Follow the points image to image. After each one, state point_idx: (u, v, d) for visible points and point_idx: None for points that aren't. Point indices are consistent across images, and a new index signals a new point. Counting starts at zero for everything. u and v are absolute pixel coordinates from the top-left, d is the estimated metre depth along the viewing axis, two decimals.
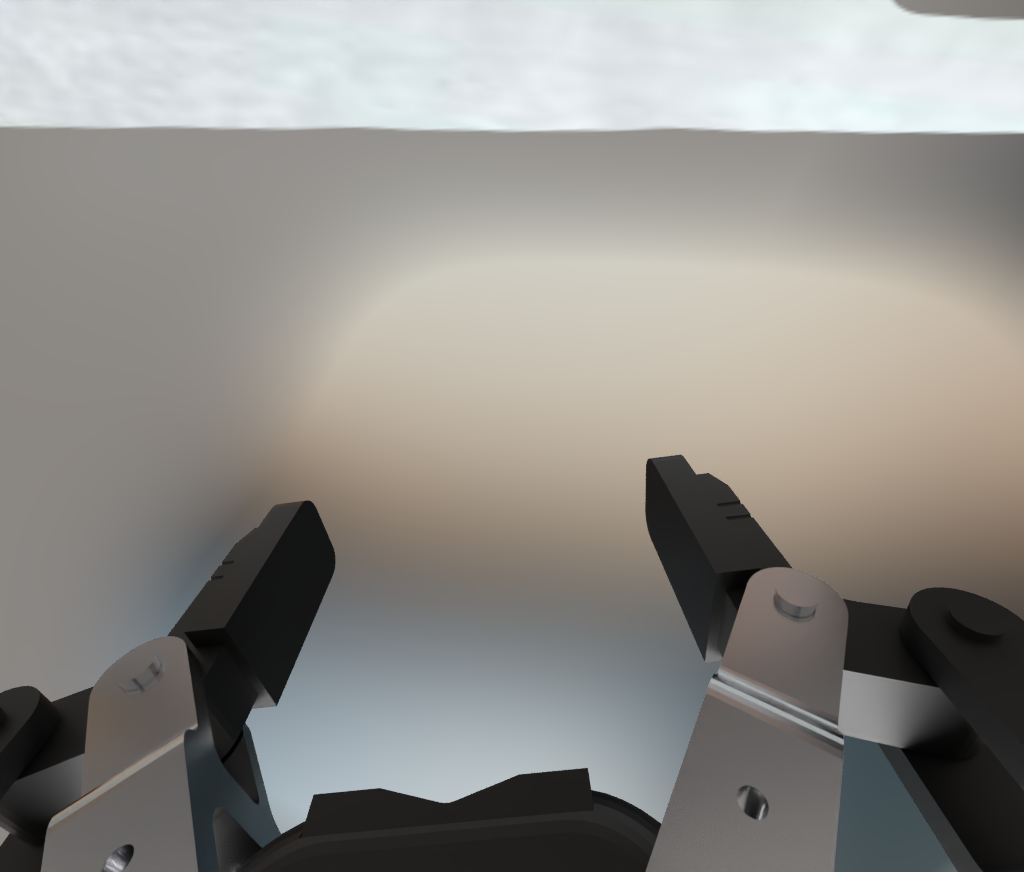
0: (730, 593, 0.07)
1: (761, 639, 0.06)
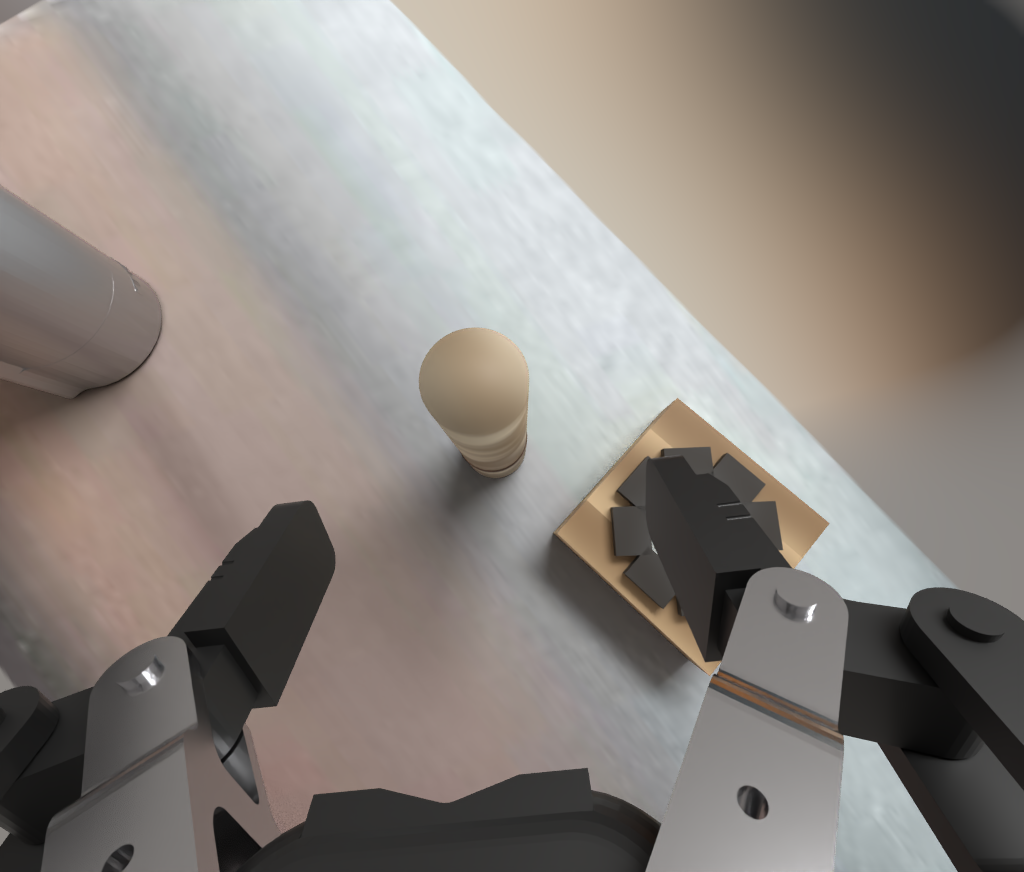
0: (730, 593, 0.07)
1: (761, 639, 0.06)
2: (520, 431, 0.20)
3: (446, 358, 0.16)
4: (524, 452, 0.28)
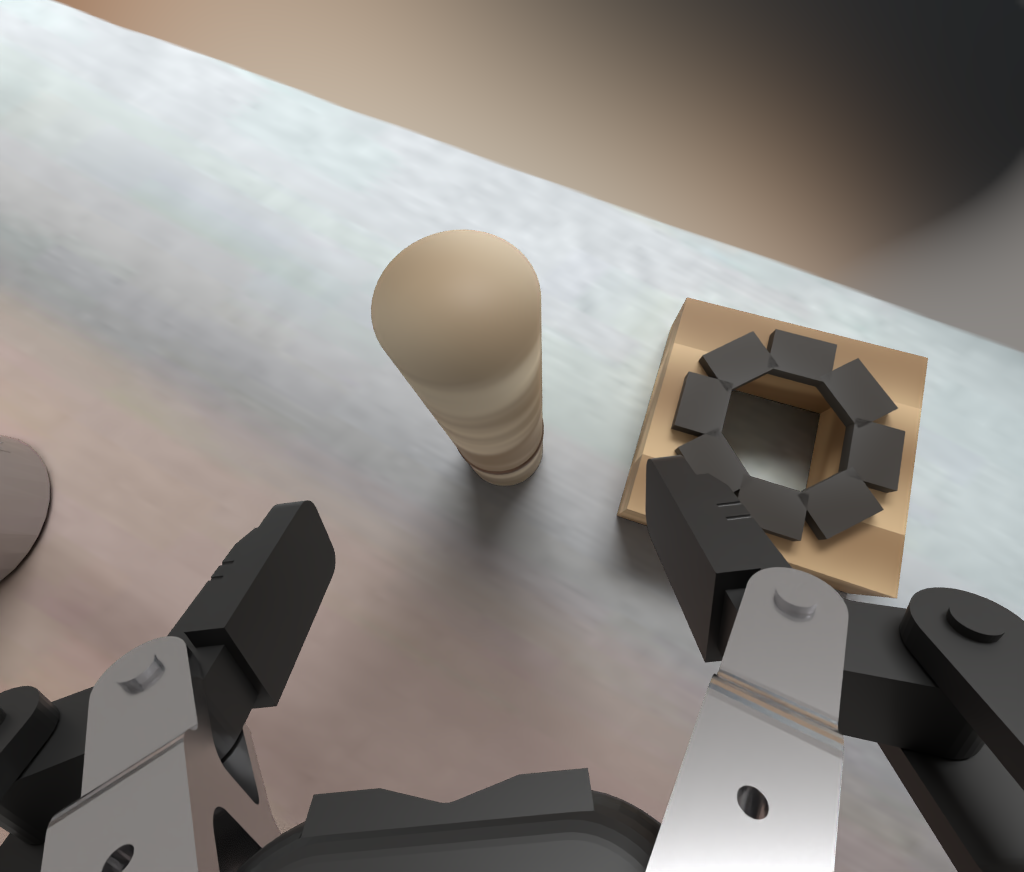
0: (730, 593, 0.07)
1: (761, 639, 0.06)
2: (541, 378, 0.14)
3: (403, 291, 0.11)
4: None
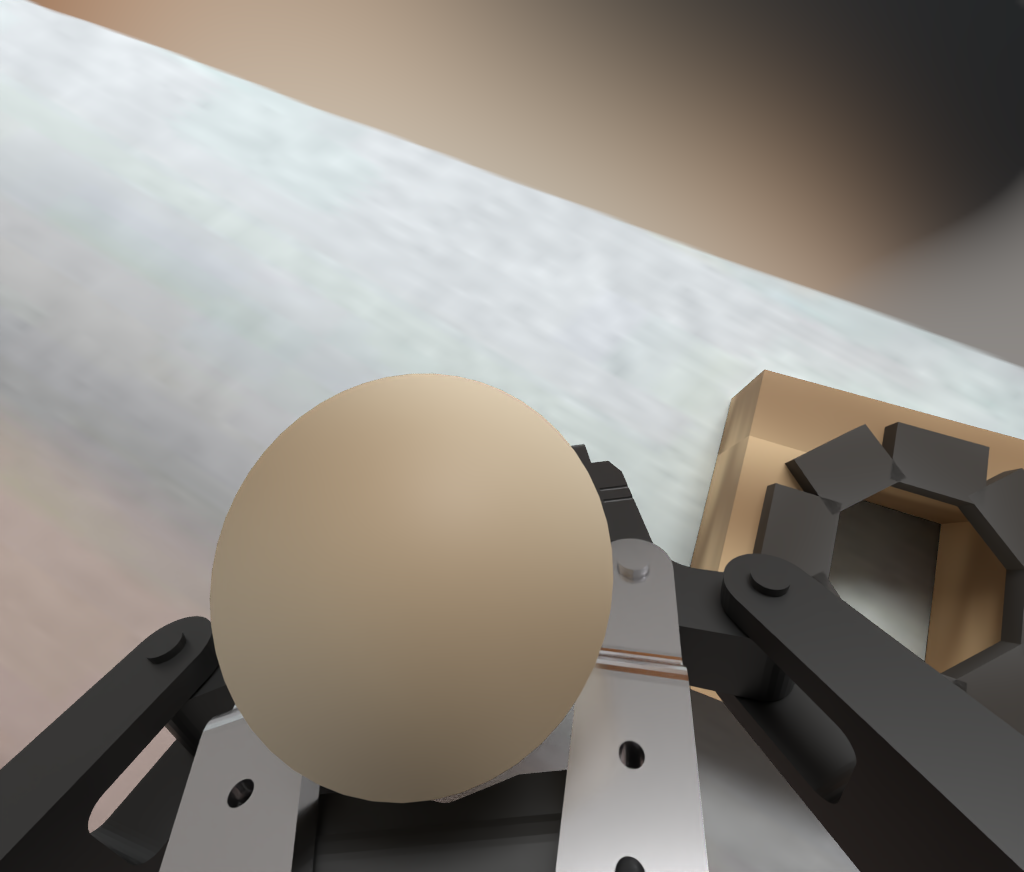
0: None
1: None
2: None
3: (288, 527, 0.05)
4: None
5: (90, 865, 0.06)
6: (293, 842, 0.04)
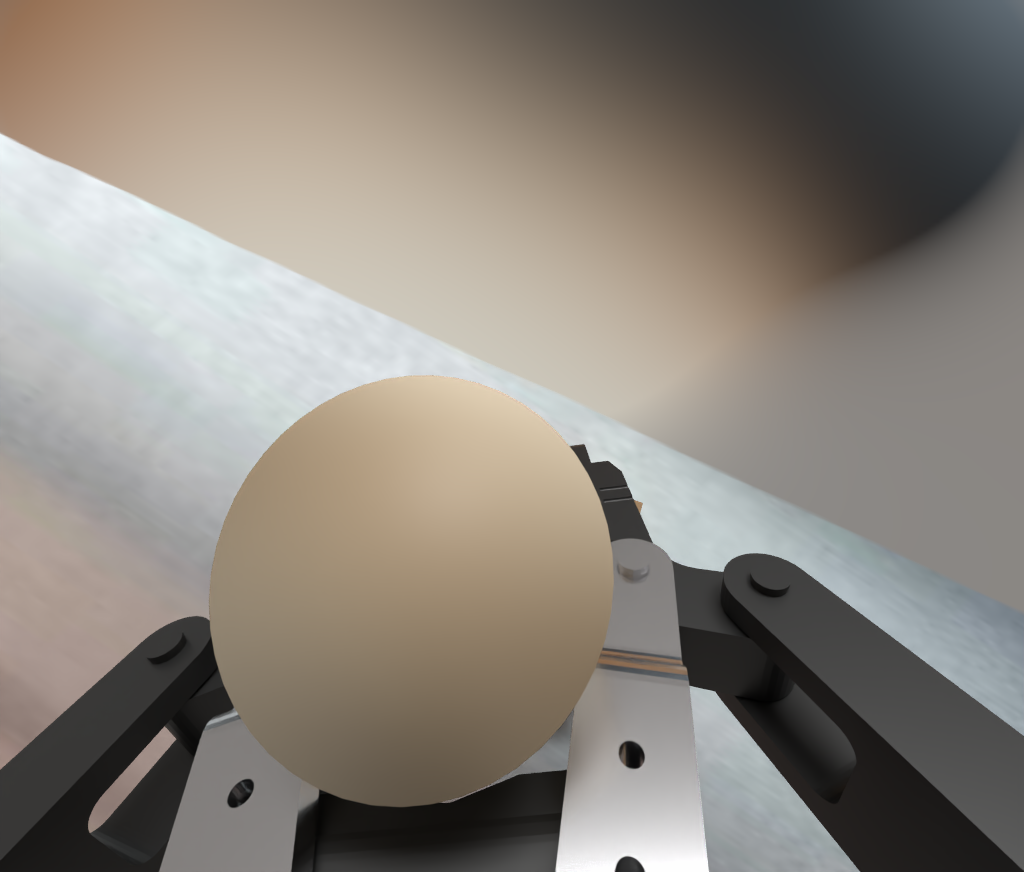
0: None
1: None
2: None
3: (288, 530, 0.05)
4: None
5: (90, 865, 0.06)
6: (293, 842, 0.04)
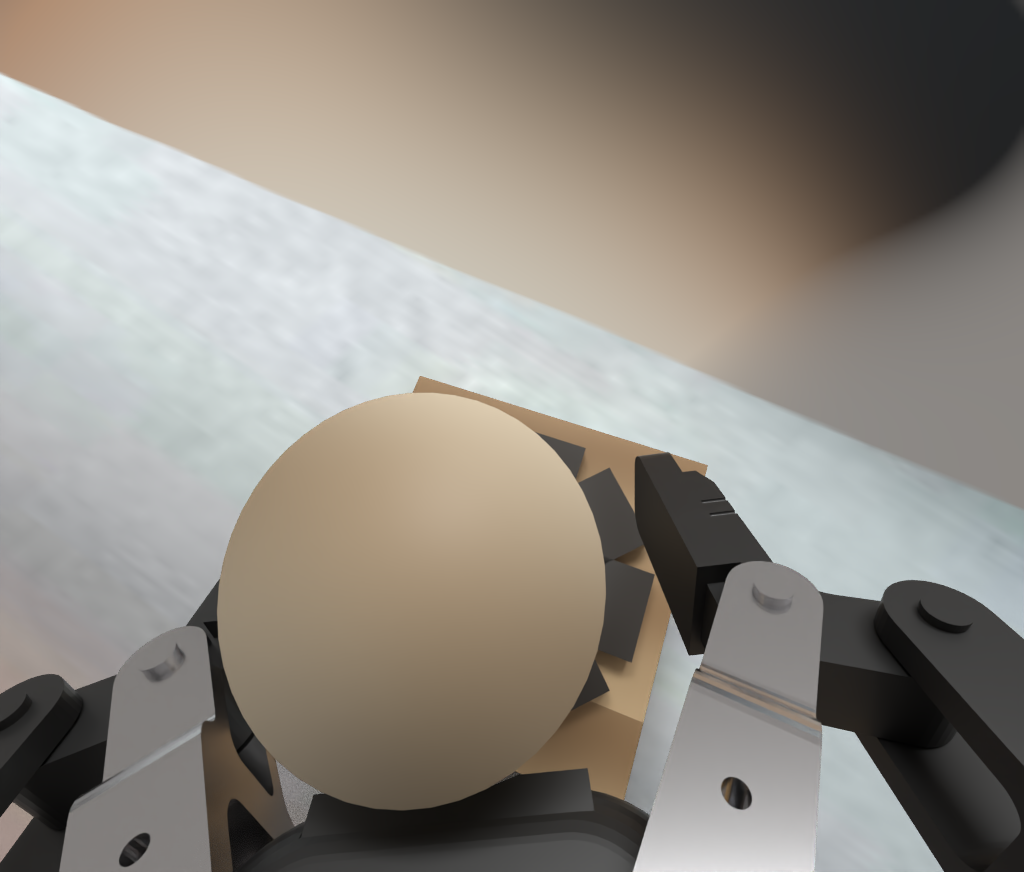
0: (711, 587, 0.07)
1: (737, 630, 0.06)
2: None
3: (293, 543, 0.05)
4: None
5: None
6: (209, 867, 0.04)
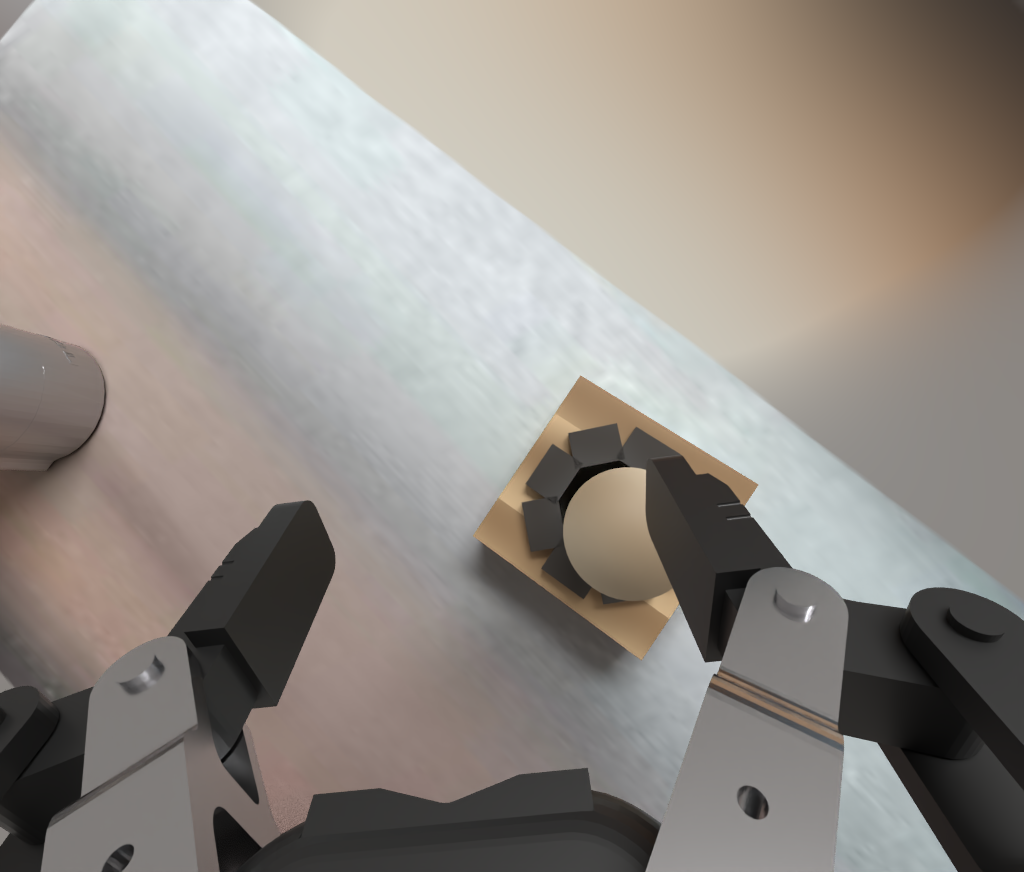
0: (730, 593, 0.07)
1: (761, 639, 0.06)
2: None
3: (591, 511, 0.14)
4: None
5: None
6: None
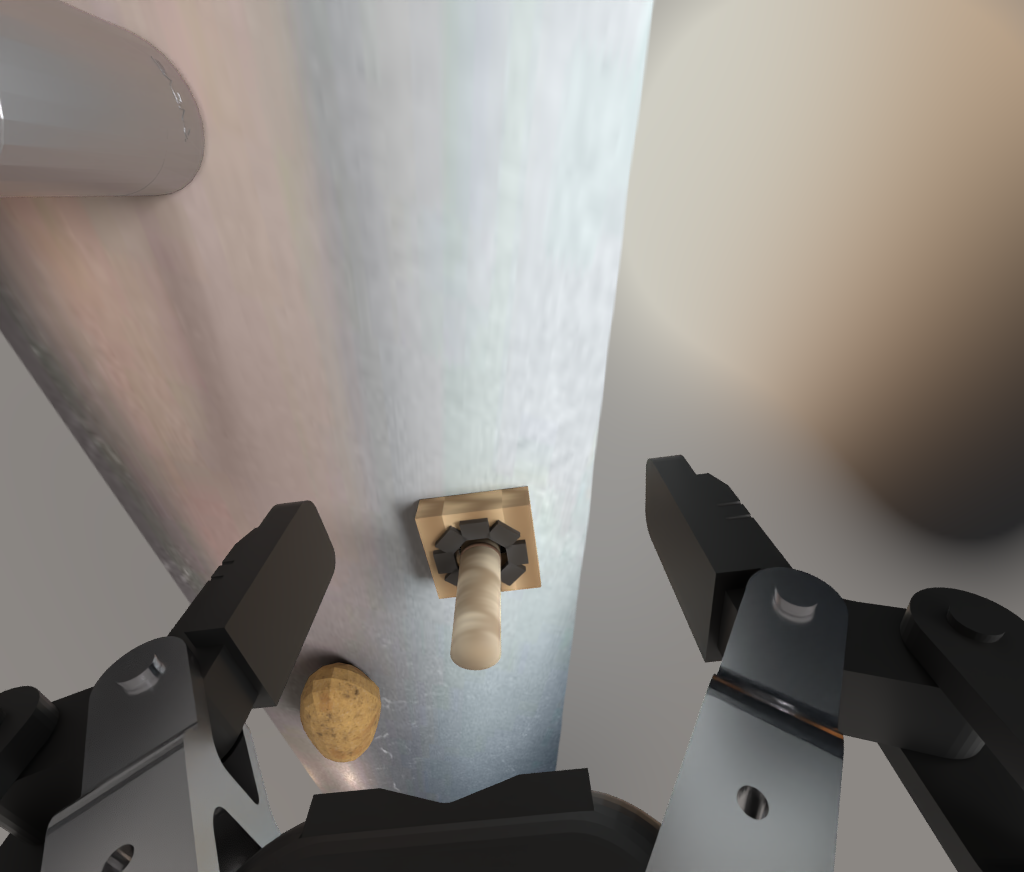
0: (730, 593, 0.07)
1: (761, 639, 0.06)
2: None
3: (471, 644, 0.35)
4: None
5: None
6: None
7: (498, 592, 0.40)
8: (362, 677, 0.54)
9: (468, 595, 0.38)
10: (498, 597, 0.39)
